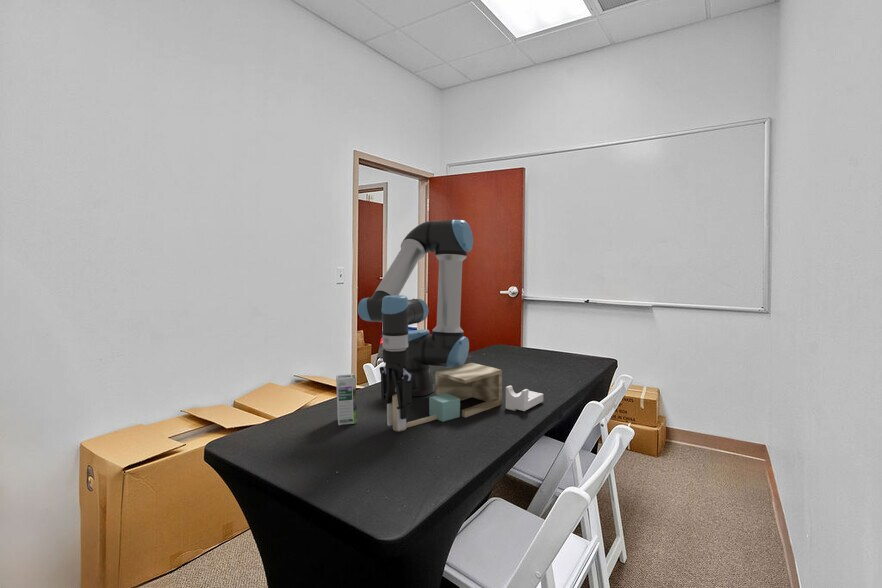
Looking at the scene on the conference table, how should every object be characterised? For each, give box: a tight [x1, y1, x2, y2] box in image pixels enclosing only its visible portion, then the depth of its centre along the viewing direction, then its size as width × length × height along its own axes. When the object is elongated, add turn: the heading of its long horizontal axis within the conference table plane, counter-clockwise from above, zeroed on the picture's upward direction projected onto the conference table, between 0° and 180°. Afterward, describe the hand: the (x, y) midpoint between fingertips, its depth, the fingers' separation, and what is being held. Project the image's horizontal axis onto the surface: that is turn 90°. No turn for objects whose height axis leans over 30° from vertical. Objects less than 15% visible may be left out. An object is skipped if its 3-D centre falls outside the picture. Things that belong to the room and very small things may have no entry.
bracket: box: [505, 385, 544, 412], centre depth 147 cm, size 13×7×8 cm, turn 139°
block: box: [392, 393, 461, 432], centre depth 133 cm, size 7×22×10 cm, turn 128°
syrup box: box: [335, 373, 358, 426], centre depth 134 cm, size 6×6×14 cm
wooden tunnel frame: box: [434, 362, 503, 418], centre depth 148 cm, size 14×18×12 cm
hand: (396, 426), depth 127 cm, fingers open, 4 cm apart
